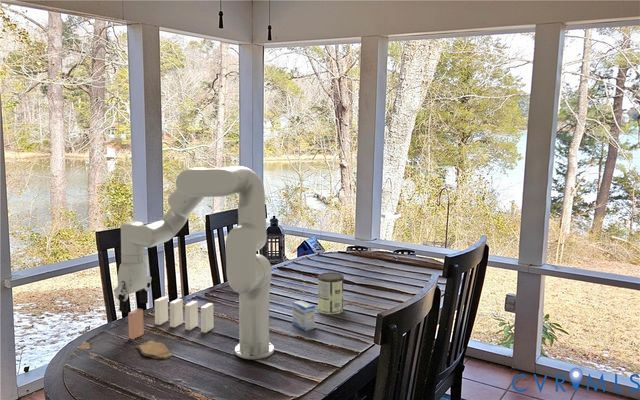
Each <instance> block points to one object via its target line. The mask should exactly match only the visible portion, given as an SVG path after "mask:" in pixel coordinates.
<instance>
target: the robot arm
mask: <svg viewBox="0 0 640 400" xmlns="http://www.w3.org/2000/svg"><path fill="white" fill-rule="evenodd" d="M236 194H237V195H238V197H239V200H238V205H237V215H238V216H237V217H238V219H237V226H235V227H233V228H232V229H231V230H229V232H228V234H227V236H226V239H225V247H224V248H225V263H226V264H225V267H226V270H225V271H226V278H227V282H228V285H229V286H230V288H231V289H232V290H233V291H234V292H235V293H237V294H239V296H238V297H239V298H238V304H239V305H238V308H239V309H238V311H239V312H238V314H239V315H238V316H239V318H238V323H239V324H238V325H239V326H238V327H239V335H238V336H239V337H238V338H239V343H238V344H237V345H235V347H234V353H235V355H236V356H237V357H239V358H242V359H243V360H244V359H245V360H259V359H265V358H267V357H270V356H272V355H273V353H274V352H275V346H274V344H272V343H271V342H270V289H271V280H272V266H271V263H270V261H269V259H268V258H267V257H266V256H264V255H263V254H260V253H257V252H258V251H260V250H261V249H263V247H265V245H266V243H267V241H268V240H267V239H268V235H267V233H268V232H267V216H266V215H267V214H266V193H265V186H264V182H263V180H262V179H261V177H260V176H259V175H258V173H256V171H254V170H253V169H250V168H249V167H246V166H243V165H242V166H241V165H233V166H228V167H227V166H226V167H217V168H208V167H207V168H206V167H202V166H198V167H190V168H186V169H183V170H181V172H179V173H178V174H177V176H176V179H175V189H174V190H173V192H172V193H171V194H170V195H169V196H168V198H167V204H168V205H169V207H170V208H169V210H168V211H167V212H166V213H165V214H164V216H162V217H161V218H160V219H159V220H158V221H154V222H150V223H147V224H145V223H143V222H142V221H136V220H135V221H134V220H133V221H132V220H131V221H125V222H123V223H122V224H121V226H120V258H121V259H120V260H121V261H120V262H121V263H120V264H119V268H118V272H117V286H116V288H114V290H113V293H114V295H115V298H117V300H118V301H119V305H118V307H119V309H118V310H119V312H122V313H129V300H128V298H129V296H130V295H131V294H133V293H136V292H138V296H139V297H138V298H139V299H138V301H139V303H141V304H148V299H149V298H148V297H149V296H148V294H149V291H150V286H151V282H152V276H150V275H148V269H147V262H146V248H147V249H148V248H153V247H156V246H158V245H161V244H163V243H166V242H169V241H170V240H171V239H173V238H174V237H175V236H176V235H177V234H178V233H179V232H180V230H181V229H182V228H184V226H185V225H186V223H187V222H188V219H189V216H190V214H191V213H192V212H193V211H194V209H195V208H196V207H197V206H198V205H199V204H200V203H201V202H202V201H203V200H204V198H211V197H212V198H213V197H214V198H215V197H216V198H219V197H221V198H222V197H229V196H233V195H236Z"/></svg>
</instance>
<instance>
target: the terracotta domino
mask: <svg viewBox="0 0 640 400" xmlns="http://www.w3.org/2000/svg"><path fill="white" fill-rule="evenodd" d="M127 313H128V314H127V318H128V319H127V320H128V321H127V322H128V339H129V338H130V340H136V339H137V337H138V338H139V337H141V336H143V335H144V334H145V333H144V331H145V329H144V327H145V326H144V309H143V308H136V309H134V310H132V311H128V312H127ZM135 338H136V339H135Z"/></svg>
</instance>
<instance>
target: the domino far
mask: <svg viewBox="0 0 640 400" xmlns="http://www.w3.org/2000/svg"><path fill="white" fill-rule="evenodd" d="M167 322H169V297H168V296H161V297H159V298H157V299H154V323H155V324H154V325H158V326H161V325H163V324H165V323H167Z"/></svg>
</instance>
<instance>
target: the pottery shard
mask: <svg viewBox="0 0 640 400" xmlns="http://www.w3.org/2000/svg"><path fill="white" fill-rule="evenodd" d="M134 348H135V349H136V348H137V350H138V349H139V350H138V351H140V354H142V355H143V356H145V357H149V358H152V359H155V360H156V359H157V360H167V359H168V358H170V357H172V356H173V355H172V353H171V352H170V350H169V349H168V348H167V346H166V345H165V344H164V343H162V342H159V341H158V342H155V341H154V340H148V341H146V342H144V343H142V344H141V343H140V344H139V345H135V346H134Z"/></svg>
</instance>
